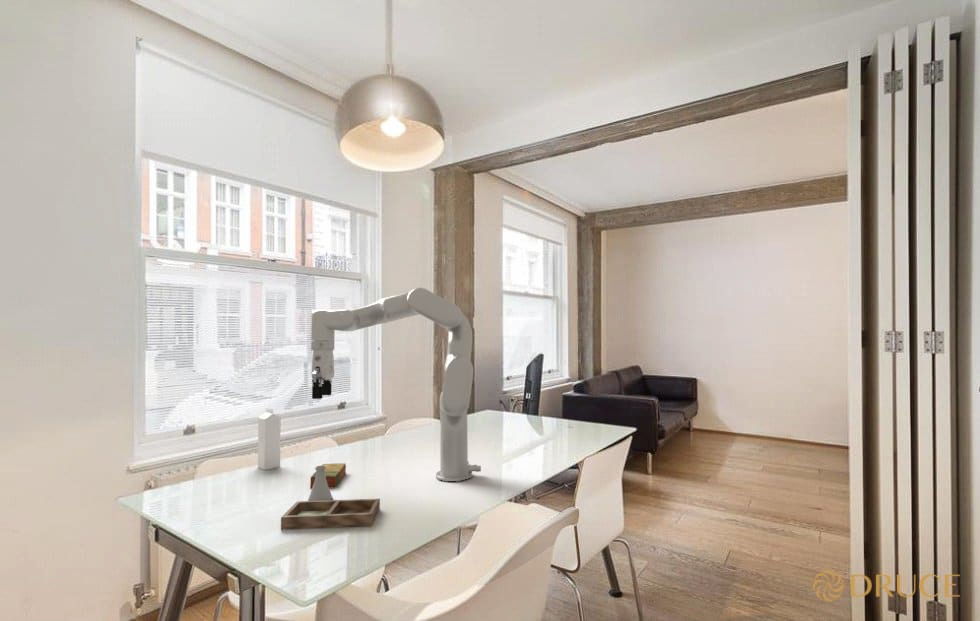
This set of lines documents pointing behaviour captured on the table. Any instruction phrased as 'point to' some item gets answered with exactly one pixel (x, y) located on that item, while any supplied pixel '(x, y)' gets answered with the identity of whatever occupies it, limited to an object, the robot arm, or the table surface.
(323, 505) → the holder
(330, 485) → the carton
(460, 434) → the robot arm
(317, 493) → the flask
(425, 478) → the table surface
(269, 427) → the milk
